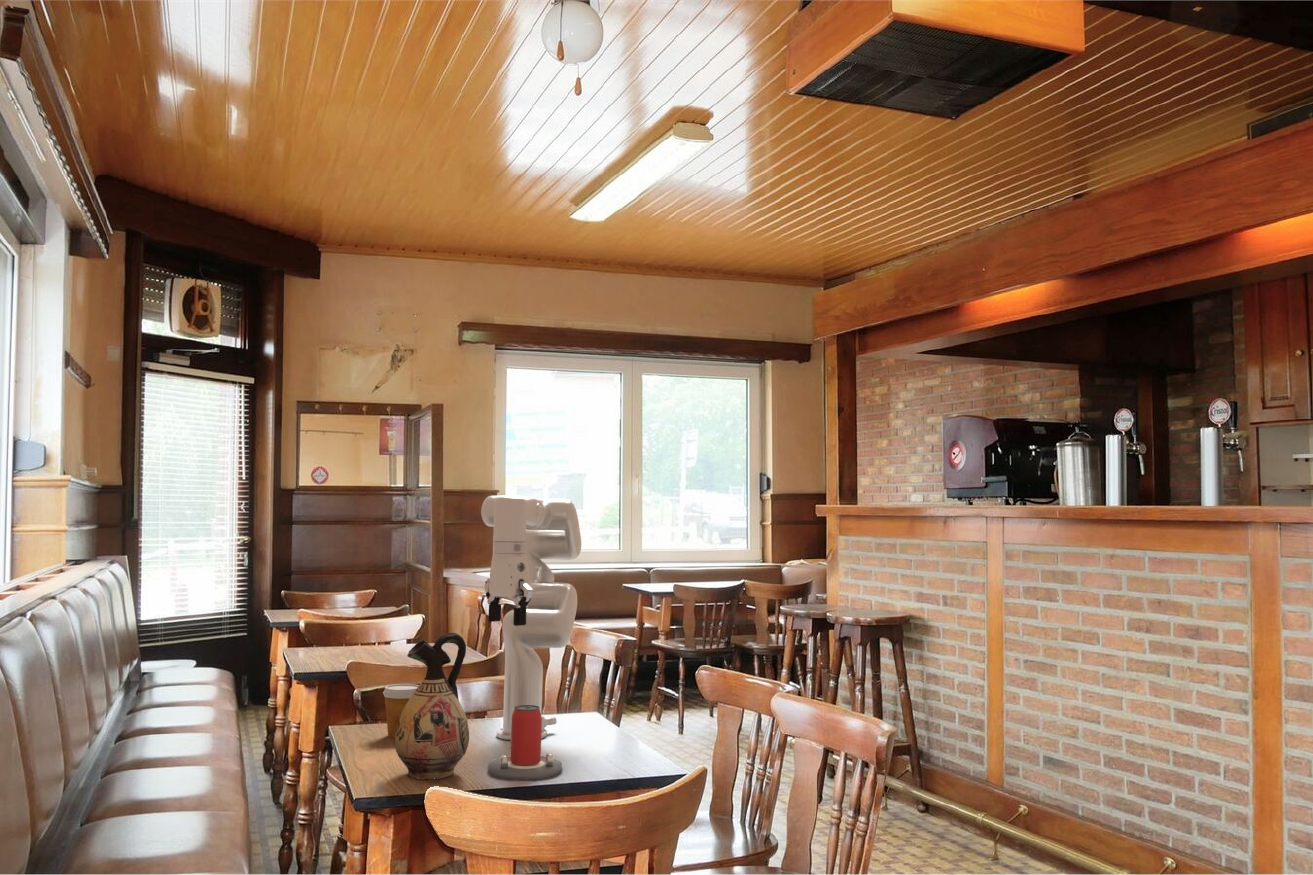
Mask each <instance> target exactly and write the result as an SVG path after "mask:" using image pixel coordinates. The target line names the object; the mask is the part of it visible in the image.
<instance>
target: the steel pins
mask: <svg viewBox="0 0 1313 875" xmlns="http://www.w3.org/2000/svg"><path fill="white" fill-rule="evenodd" d="M508 757H509V755H505V754H503V755H500V758H501V769H508ZM545 757H546V767H553V758H554V753H546V754H545Z"/></svg>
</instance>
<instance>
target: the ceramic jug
mask: <svg viewBox="0 0 1313 875" xmlns="http://www.w3.org/2000/svg"><path fill="white" fill-rule="evenodd" d="M448 643H449V644H454V645H456V646H457V648H458V649H457V654H456V658H455V661H454V664H453V666H452V669H451V671H450V673H449V675H448V678H447V676H446V674H445V673H444V672H445V671H444V669H443V666H444V665H449V664H450V663H451V662H452V659H451V657H450V655H449V654H448V653H447V652H446V651H445V650H444V649H443V648H442V647H443V645H445V644H448ZM466 653H467V645H466V641H465V640H464V638H463V636H461V635H460V634H459V633H456V632H448V633H444V634H442V635H440V636H438V637H437V639H436V641H435V642H434V644H433V645H430V644H429V643H428V642H427V641H426V640H424V639H421V640H419V641H418V642H416V643H415V644H414V645H413V647H411V649H410V650H409V651H408V653H407V657H408V658H409V659H412V660H415V661H418V662H420V663H422V664H423V665H425V666H426V668H427V670H426V674H425V677H423V679H422V681H421V683H420V684H419V686H418V688H417V689H416V690H415V692H414V693H413V695H412V697H411V698H410V699H409V701H408V703H407V704H406V706H405V708H404V710H403V712H402V714H401V716H400V719H399V723H398V726H397V730H396V735H395V738H394V745H395V746H394V747H395V751H396V754H397V756H398V757H399V759H400V760H401V762H402V764H404V765H405V767H406V769H407V771H408V773H407V775H408V776H407V777H410V778H412V777H414V778H419V779H418V780H420V779H428V780H440V779H443V778H446V777H449V776H452V775H453V774H454V772H455V767H456V766H457V765H458V764H459V762H460V761H461V760H462V759H463V758H464V756H465V755H466V753H467V750H468V747H469V743H470V730H469V729H470V728H469V721H468V718H467V715H466V713H465V710H464V707H463V706H462V704H461V702H460V699H459V692H458V687H457V679H458V677H459V675H460V671H461V669H462V666H463V663H464V659H465V657H466ZM414 778H413V779H414ZM434 778H435V779H434ZM436 778H437V779H436Z"/></svg>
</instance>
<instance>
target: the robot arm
mask: <svg viewBox="0 0 1313 875" xmlns="http://www.w3.org/2000/svg"><path fill="white" fill-rule="evenodd" d="M480 509H481V518H482V521H483V523H484V524H485V525H486V526H487V527H490V528H491V527H493V535H492V536H493V540H492V557H491V558H492V559H491V562H490V571H489V572H490V573H489V581H487V582H486V583H485V584H484V585H483V586H484V591H485V597H486V598H487V602H486V603H487V605H488V617H487V618H488V622H489V623H490V622H491V623H492V622H493V623H494V622H501V620H502V619H503V620H502V628H501V629H502V636H503V638H502V639H503V644H504V645H503V646H504V678H503V679H504V681H503V682H504V683H503V684H504V685H503V716H502V717H503V718H502V728H499V729H497V731H496V737H497V738H498V739H502V740H506V741H511V724H512V714H513V712H514V707H516V706H519V705H535V706H539V707H540V712H541V714H542V713H543V712H542V707H543V706H542V705H543V703H542V702H543V679H544V678H543V673H544V672H543V671H544V668H543V666H544V665H543V662H542V659H541V658H540V655H538V653H537V652H536V651H535V649H536V648H542V649H543V648H548V649H549V648H551V649H558V648H565V647H566V646H568V645H569V643H570V641H571V638H572V633H573V630H574V625H575V624H574V623H575V620H576V619H575V618H576V614H577V608H578V594H577V590H576V587H575V586H574V585H572V584H571V583H568V582H557V581H555V575H554V573H553V571H552V570H551V568H550V567H549V566H548V565H547V563H545V562H544V561H543V560H563V561H564V560H565V561H567V560H568V561H570V560H575V559H576V558H578V557H579V556H580V554H581V551H582V537H581V528H580V524H579V523H580V522H579V518H578V517H579V516H578V512H577V508H576V507H575V504H574V503H573V501H572V500H570V499H566V498H541V497H540V498H538V497H534V496H526V495H525V496H523V495H488V496H487V497H485V499H484V500H483V502H482V505H481V508H480ZM502 599H505V600H506V599H507V600H512V601H513V603H514V606H515V607H514V608H513V609H512V610H510V611H508V612H507V613H506V614H505V615H504V617H503V618H502V603H500V602H501V601H502ZM541 716H542V730H541V740H542V739H545V738H546V737H547V735H548V731H547V730H546V729H545V728H546V727H547V726H552V725H553V726H554V725H556V723H557V718H556V716H549V717H545V716H544V715H541Z"/></svg>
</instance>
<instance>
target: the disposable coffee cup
mask: <svg viewBox="0 0 1313 875" xmlns="http://www.w3.org/2000/svg"><path fill="white" fill-rule="evenodd" d="M419 685H420V684H419ZM419 685H418V684H414V683H413V684H411V683H400V684H399V683H398V684H397V683H396V684H389V685H386V686H385V687H384V691H383V692H382V694H383V696H384V703H385V705H384V706H385V715H386V727H387V737H388V738H390V739H391V738H392V739H395V735H396V730H397V726H398V723H399V719H400V716H401V714H402V712H403V710H404V708H405V706H406V704H407V703H408V701H409V699H410V698H411V697H412V695H413V693H414V692H415V690H416V689H417V688H418V686H419Z"/></svg>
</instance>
